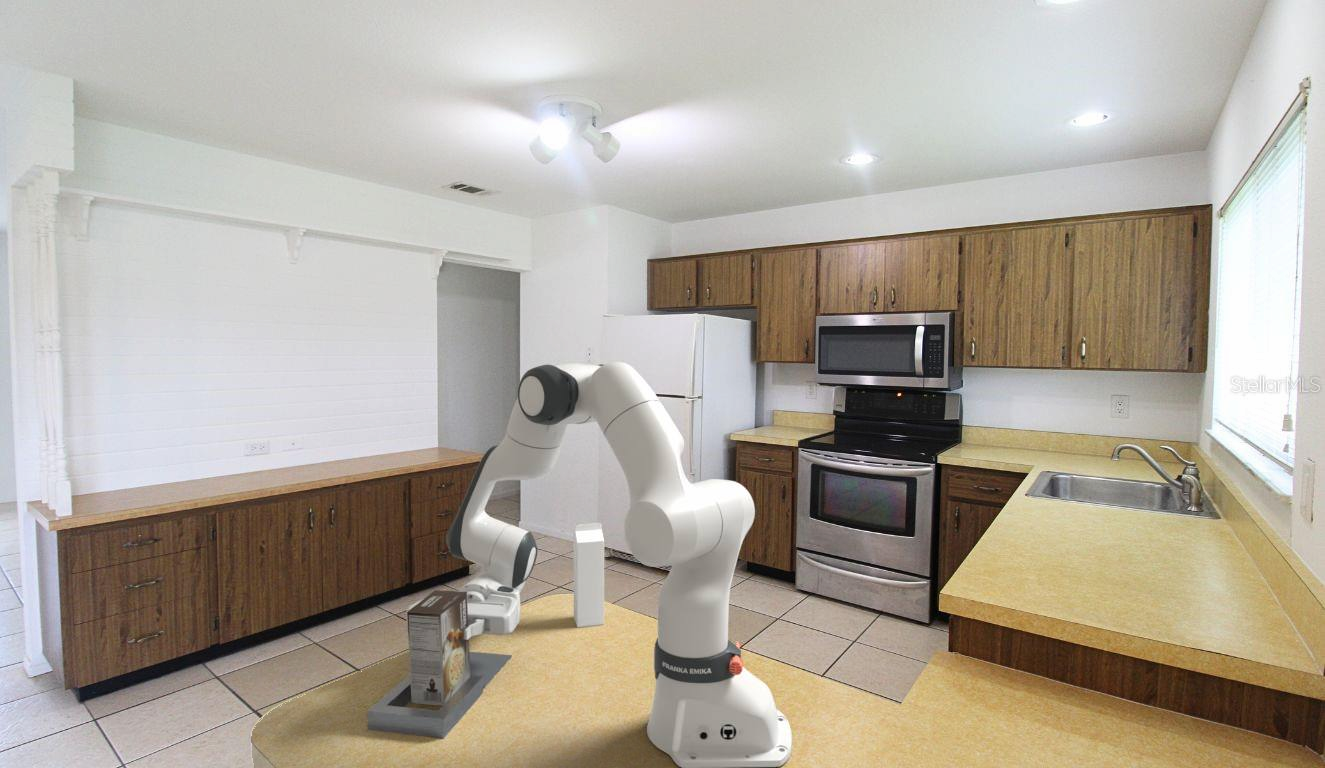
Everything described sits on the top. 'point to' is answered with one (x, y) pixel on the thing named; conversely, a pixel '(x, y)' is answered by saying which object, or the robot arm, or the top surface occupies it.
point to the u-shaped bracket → (422, 711)
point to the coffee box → (438, 647)
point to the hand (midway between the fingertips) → (441, 633)
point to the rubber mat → (486, 665)
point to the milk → (588, 575)
